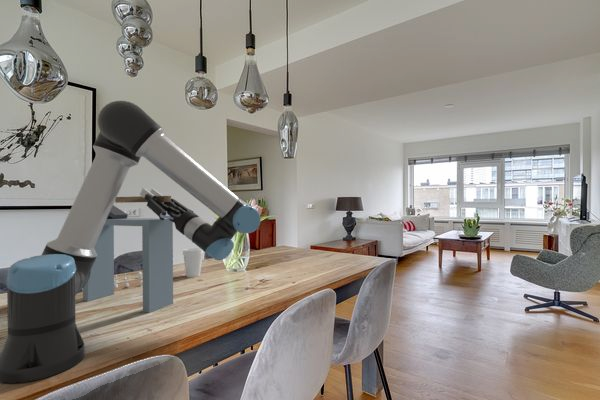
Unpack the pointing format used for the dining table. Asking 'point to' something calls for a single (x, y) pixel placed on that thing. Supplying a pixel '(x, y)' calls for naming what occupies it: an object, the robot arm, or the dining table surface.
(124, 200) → the walnut bar
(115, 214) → the domino
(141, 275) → the game piece set
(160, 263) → the slate shelf
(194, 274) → the foam cup
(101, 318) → the dining table surface
